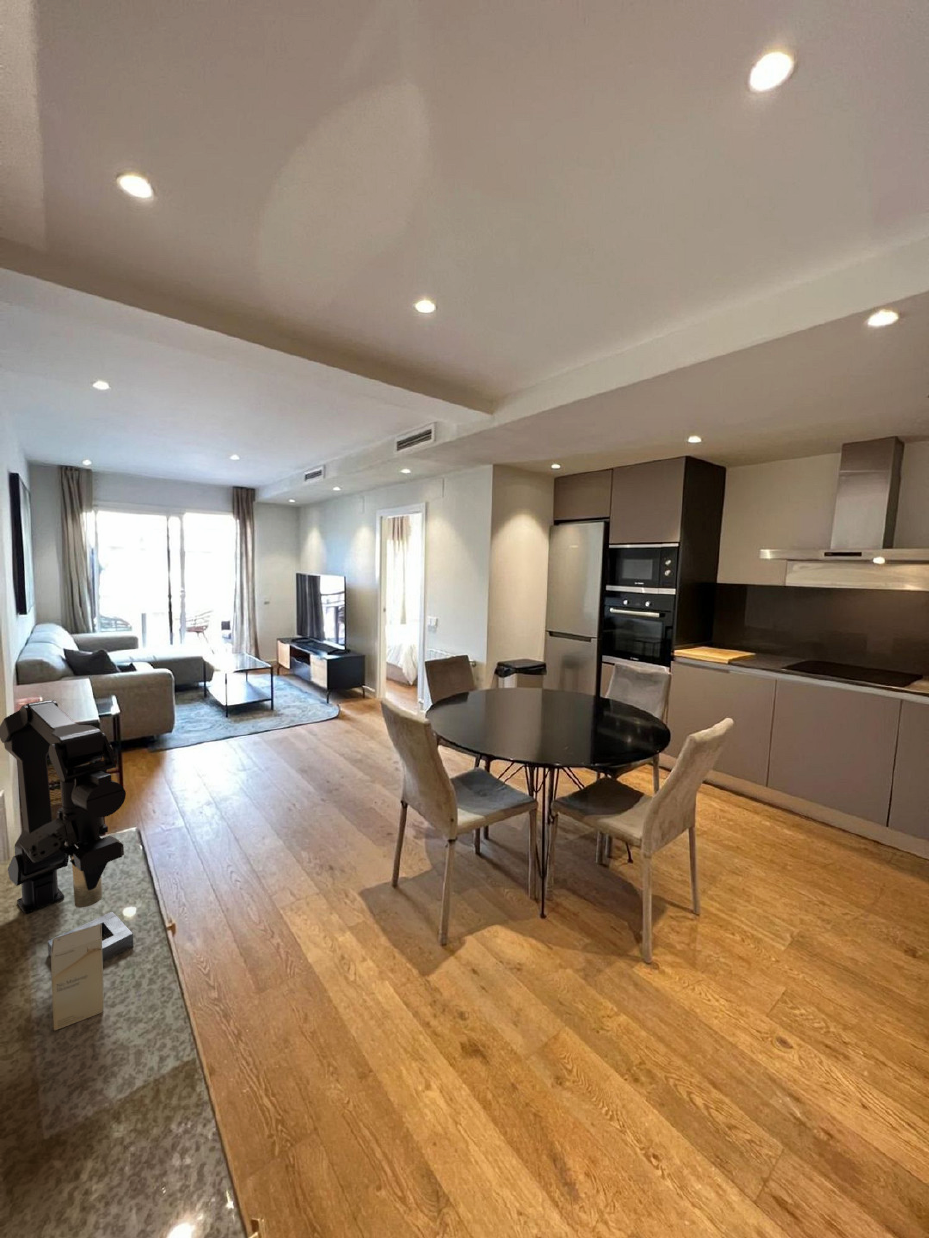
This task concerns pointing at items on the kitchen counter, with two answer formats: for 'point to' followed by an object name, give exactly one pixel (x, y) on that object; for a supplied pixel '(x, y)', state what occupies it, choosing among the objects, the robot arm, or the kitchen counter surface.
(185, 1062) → the kitchen counter surface
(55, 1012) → the skincare box
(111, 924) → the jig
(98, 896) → the bushing
